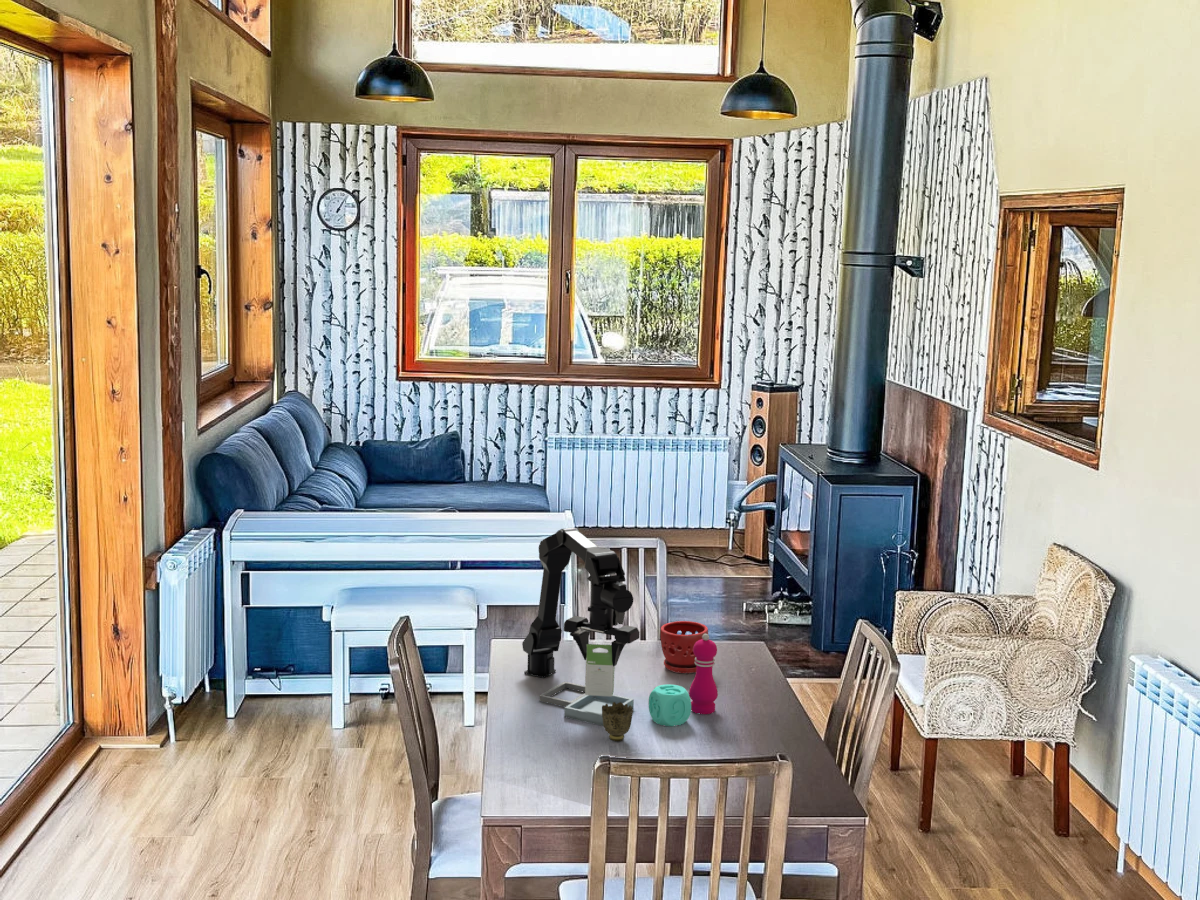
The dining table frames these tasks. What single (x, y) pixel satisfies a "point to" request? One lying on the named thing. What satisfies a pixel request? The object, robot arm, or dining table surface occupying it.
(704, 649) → the pepper mill
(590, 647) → the ink box
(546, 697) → the frame
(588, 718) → the tray
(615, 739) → the cup
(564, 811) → the dining table surface
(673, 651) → the plant pot
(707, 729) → the dining table surface
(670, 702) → the decorative dice
